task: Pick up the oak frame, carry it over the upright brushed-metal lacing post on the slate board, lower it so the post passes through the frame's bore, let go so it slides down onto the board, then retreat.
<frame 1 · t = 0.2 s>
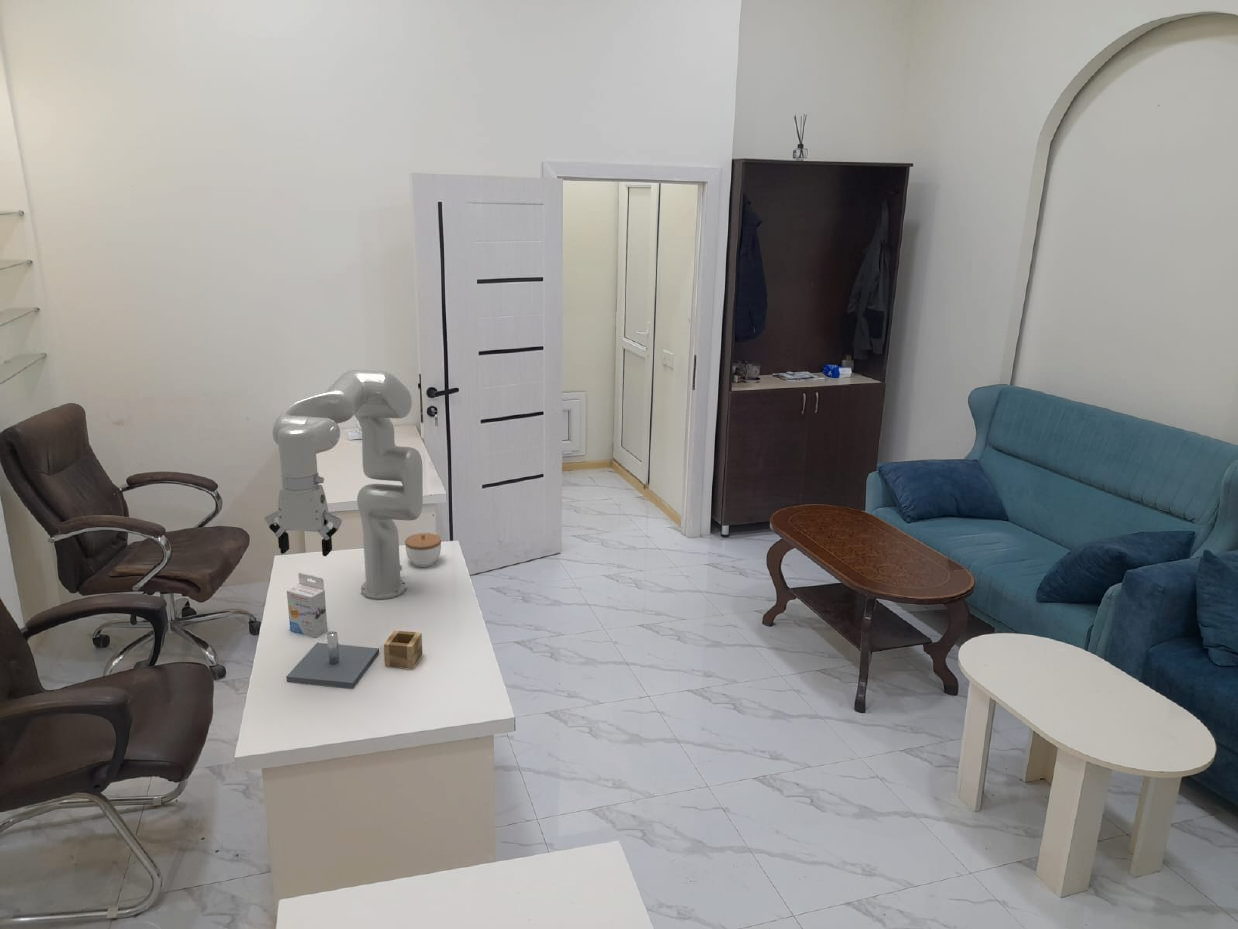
hand: (305, 552, 201), 31 cm above the table, tool pointing down, fingers open, 9 cm apart
slate board: (334, 667, 212), on the table
metal post: (333, 648, 211), on the slate board, point 5 cm above the table
oak frame: (403, 660, 216), on the table
ink box: (309, 631, 229), on the table
lidded jar: (424, 563, 271), on the table
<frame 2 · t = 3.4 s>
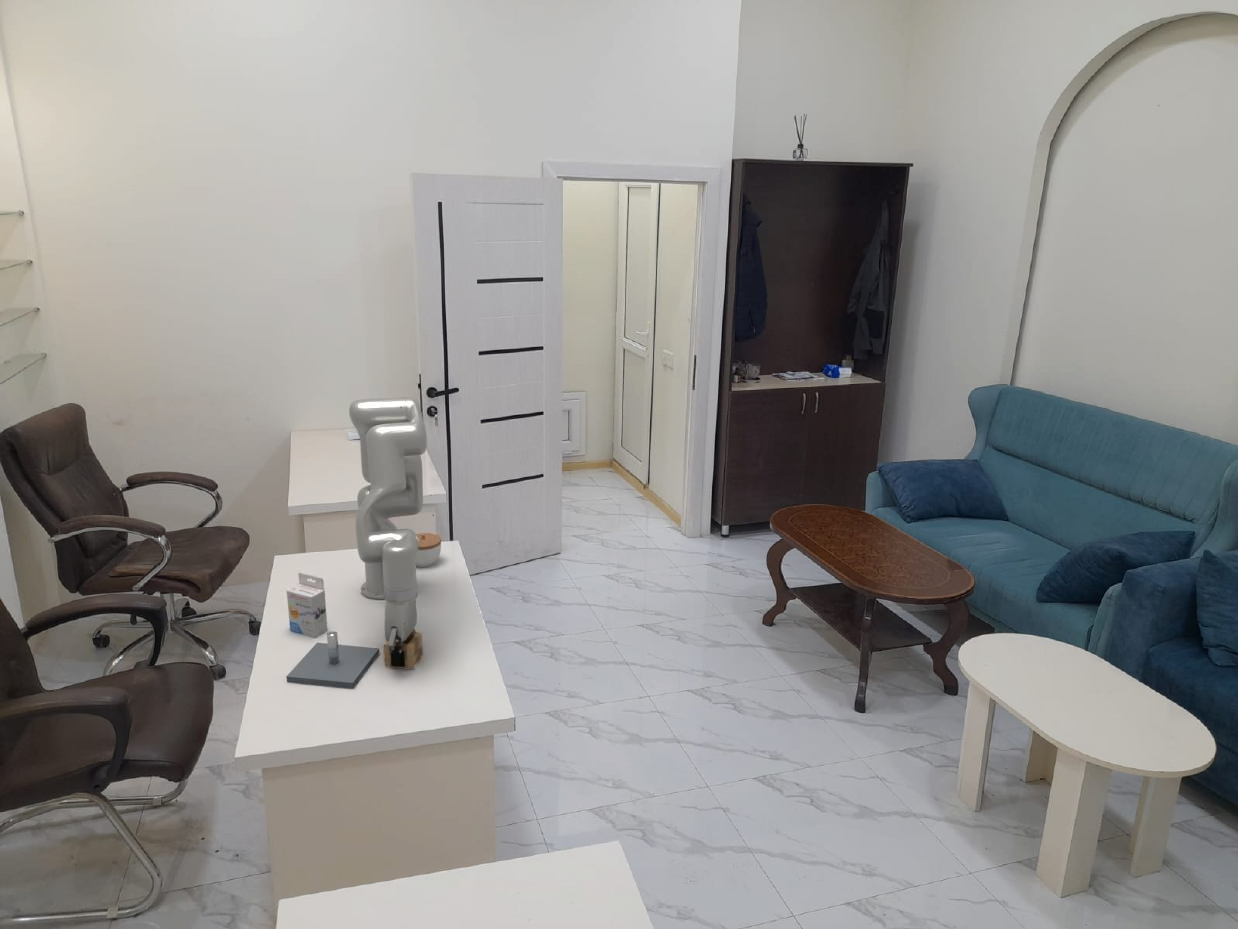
hand: (403, 657, 216), 1 cm above the table, tool pointing down, fingers closed on oak frame, 7 cm apart
oak frame: (403, 660, 216), on the table, touching gripper
everything else where it was.
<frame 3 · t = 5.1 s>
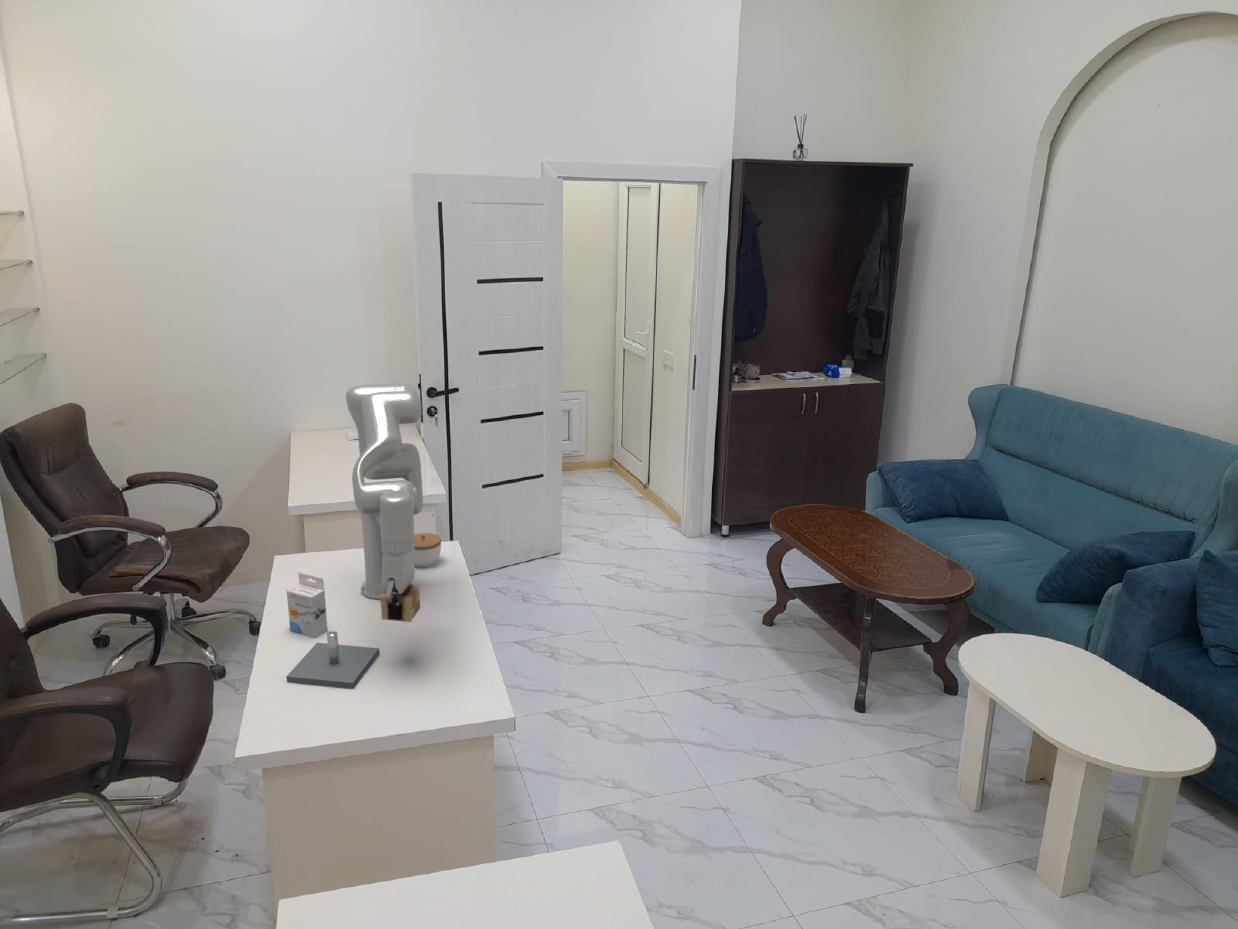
hand: (401, 610, 213), 13 cm above the table, tool pointing down, fingers closed on oak frame, 7 cm apart
oak frame: (401, 613, 213), point 12 cm above the table, touching gripper
everything else where it was.
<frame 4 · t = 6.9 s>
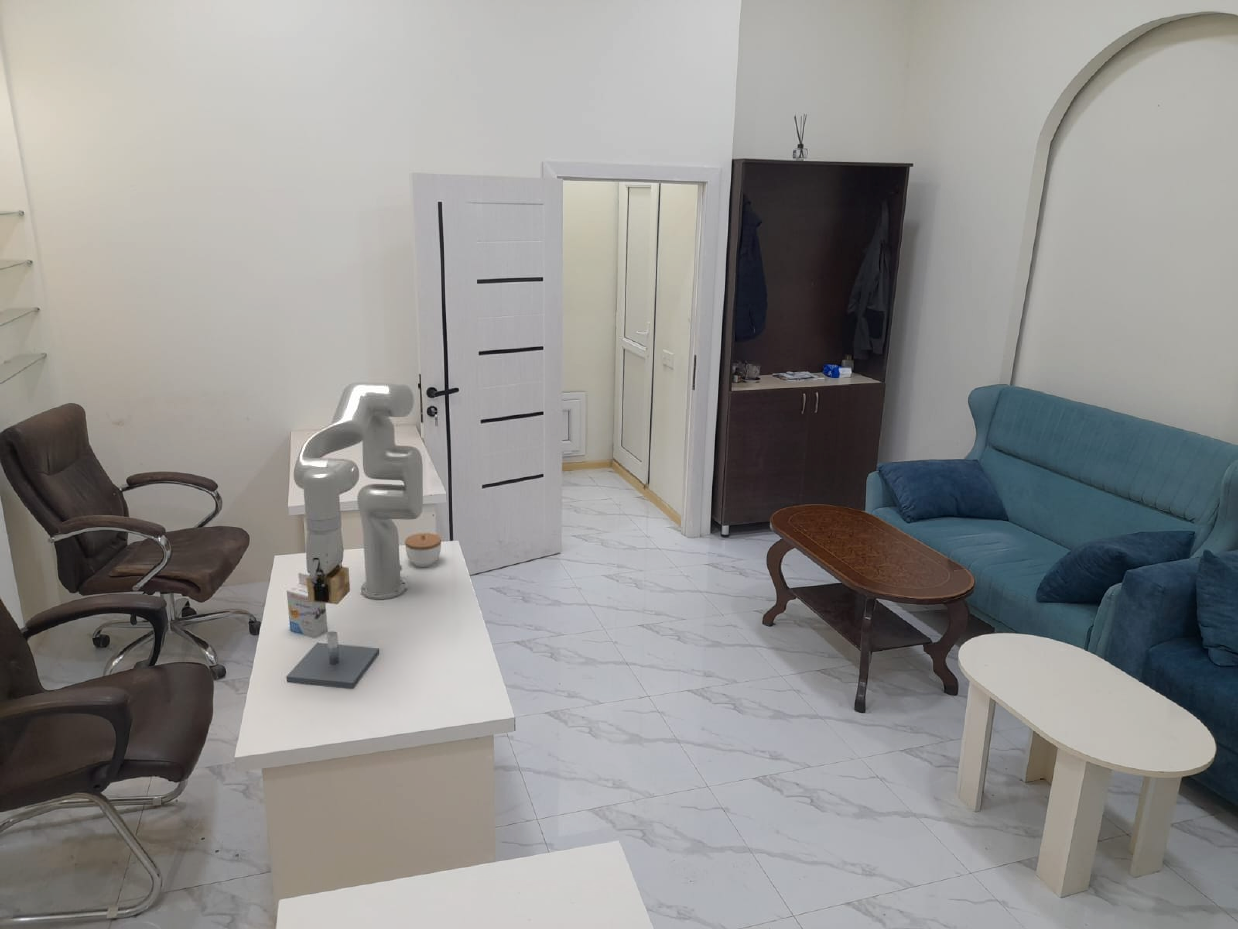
hand: (329, 592, 206), 20 cm above the table, tool pointing down, fingers closed on oak frame, 7 cm apart
oak frame: (329, 596, 206), point 19 cm above the table, touching gripper
everything else where it was.
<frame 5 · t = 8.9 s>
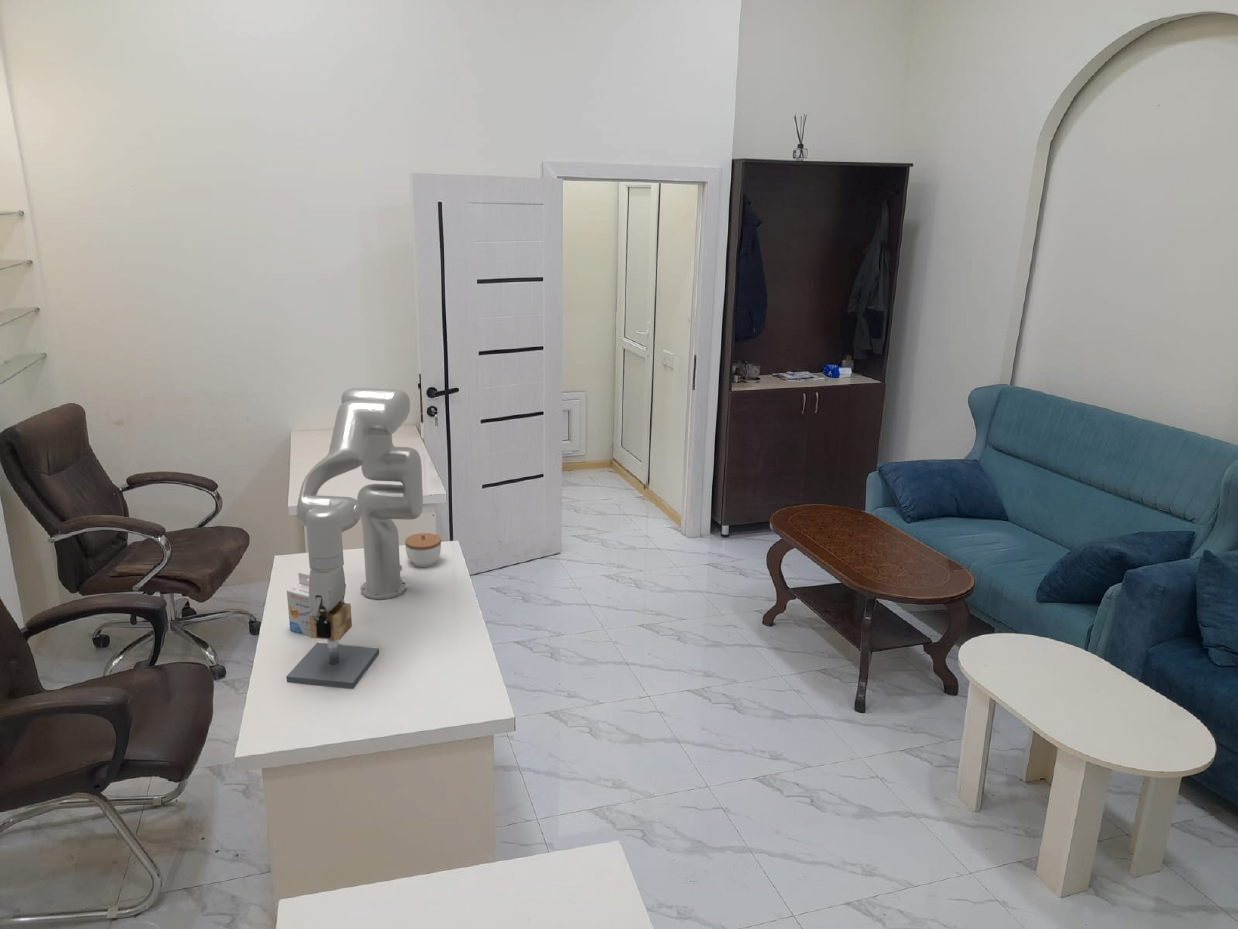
hand: (331, 628, 209), 10 cm above the table, tool pointing down, fingers closed on oak frame, 7 cm apart
oak frame: (331, 632, 209), point 10 cm above the table, touching gripper
everything else where it was.
when the fingers open (7 cm above the table, at t = 10.4 s): oak frame drops 4 cm, resting on slate board.
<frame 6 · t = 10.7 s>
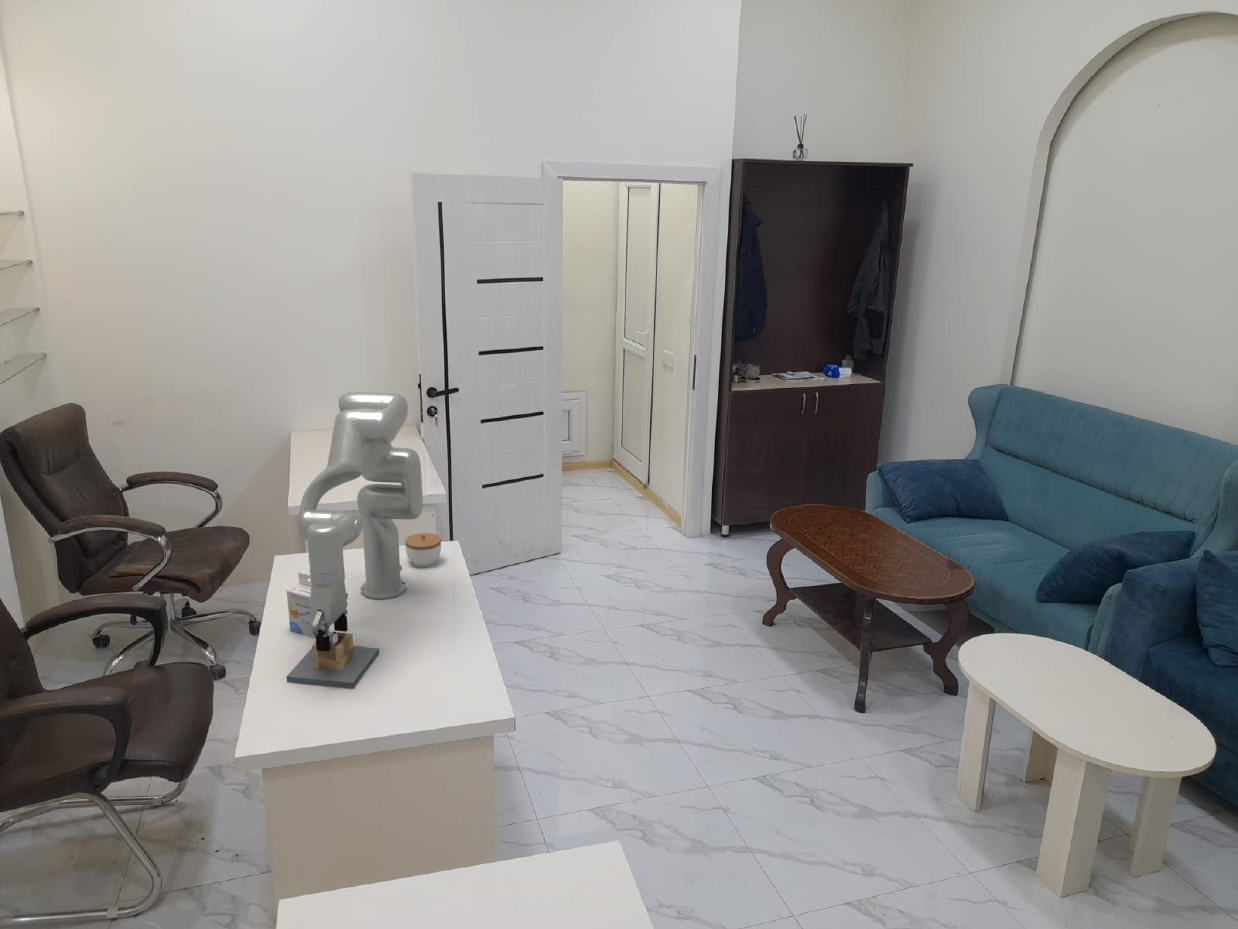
hand: (332, 640, 210), 7 cm above the table, tool pointing down, fingers open, 9 cm apart
oak frame: (334, 662, 212), point 1 cm above the table, touching slate board
everything else where it was.
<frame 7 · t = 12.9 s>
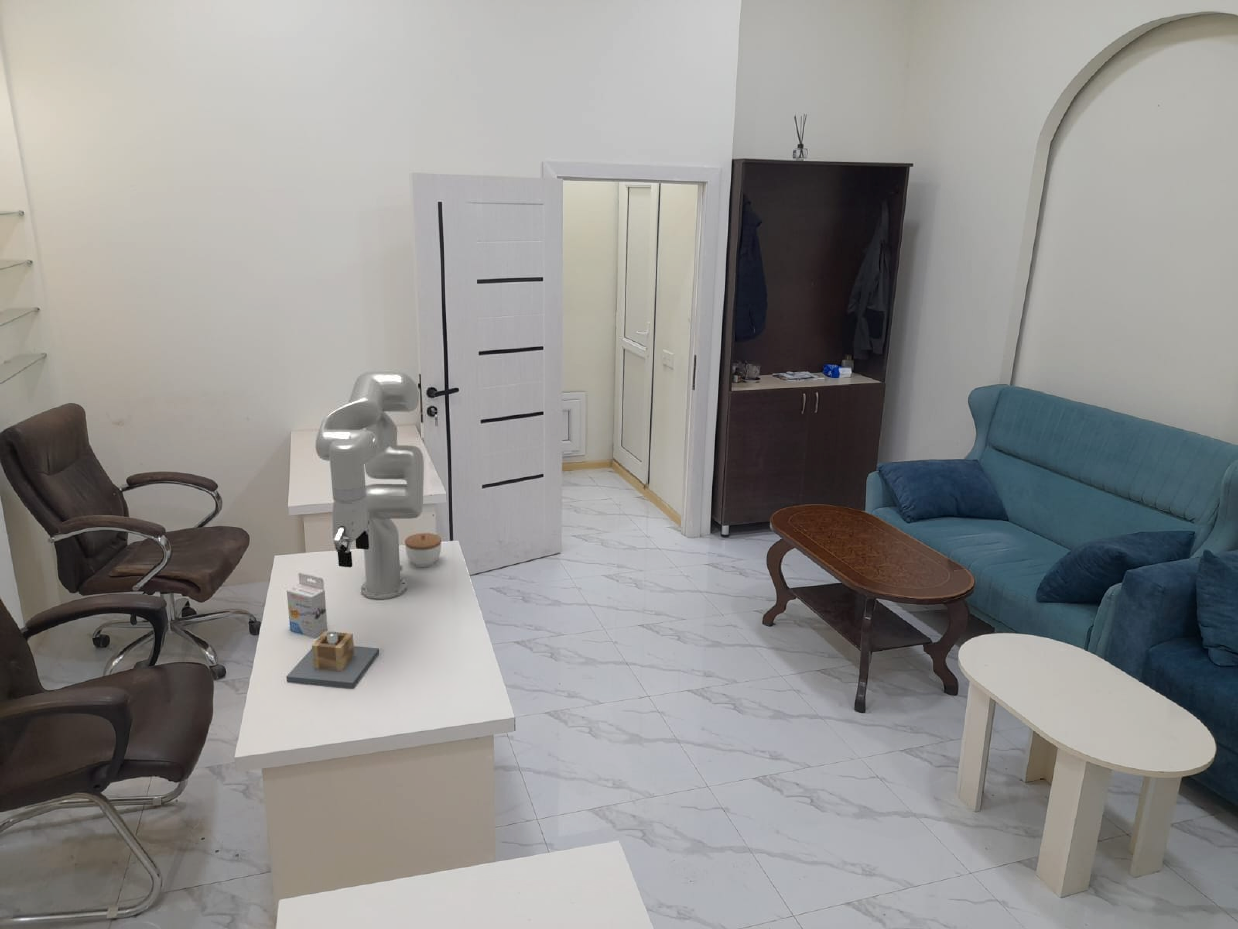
hand: (354, 557, 214), 25 cm above the table, tool pointing down, fingers open, 9 cm apart
nothing on the table moved.
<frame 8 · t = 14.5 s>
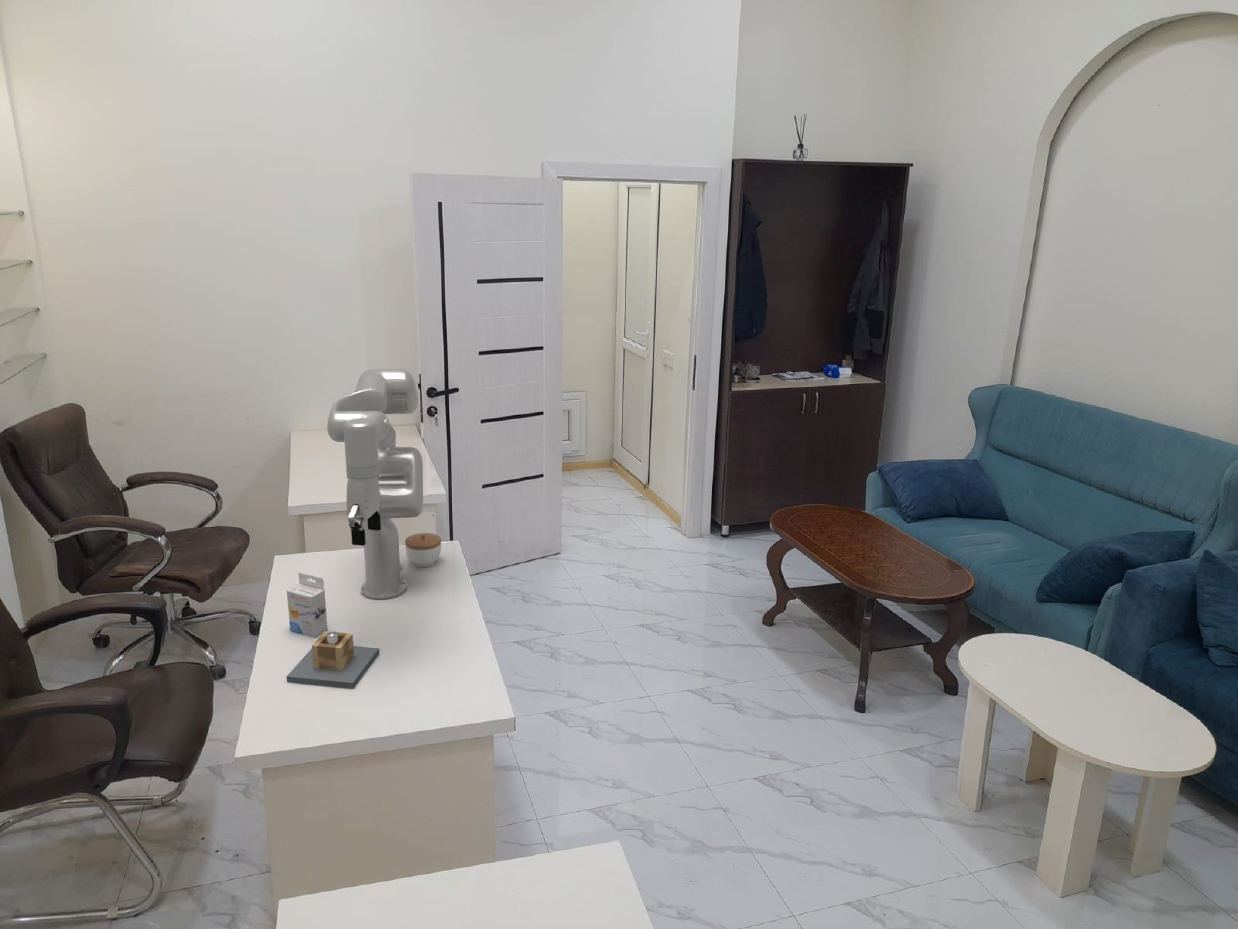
hand: (366, 537, 216), 28 cm above the table, tool pointing down, fingers open, 9 cm apart
nothing on the table moved.
at the end: oak frame 0.0 cm off-centre on the metal post, point 1.5 cm above the metal post's base; oak frame tilted 0°; the gripper is holding nothing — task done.
